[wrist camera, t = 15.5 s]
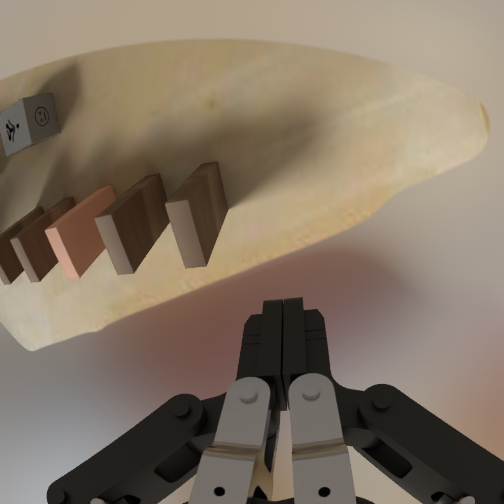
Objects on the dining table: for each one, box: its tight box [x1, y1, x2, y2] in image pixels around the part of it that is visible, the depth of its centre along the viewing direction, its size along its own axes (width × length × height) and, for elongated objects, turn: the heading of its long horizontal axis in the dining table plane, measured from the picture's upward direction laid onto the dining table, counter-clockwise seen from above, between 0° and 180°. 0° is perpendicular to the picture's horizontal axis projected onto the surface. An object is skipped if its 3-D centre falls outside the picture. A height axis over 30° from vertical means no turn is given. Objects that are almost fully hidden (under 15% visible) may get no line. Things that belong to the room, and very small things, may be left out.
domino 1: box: [0, 207, 44, 285], centre depth 28 cm, size 2×5×10 cm, turn 10°
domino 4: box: [94, 173, 170, 275], centre depth 25 cm, size 2×5×10 cm, turn 10°
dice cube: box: [0, 93, 60, 157], centre depth 23 cm, size 5×5×5 cm
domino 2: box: [10, 196, 76, 283], centre depth 27 cm, size 2×5×10 cm, turn 10°
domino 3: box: [45, 185, 116, 279], centre depth 26 cm, size 2×5×10 cm, turn 10°
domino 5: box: [165, 162, 228, 268], centre depth 24 cm, size 2×5×10 cm, turn 10°
